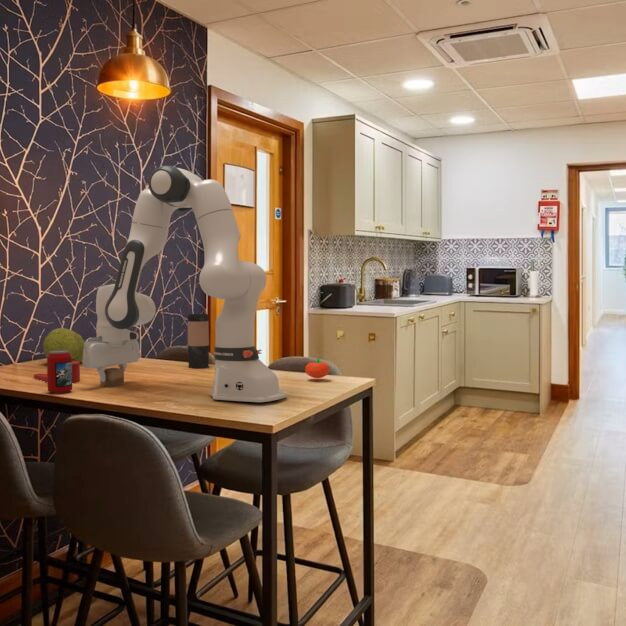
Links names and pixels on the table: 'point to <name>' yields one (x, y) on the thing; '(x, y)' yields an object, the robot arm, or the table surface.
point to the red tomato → (317, 369)
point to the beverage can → (59, 371)
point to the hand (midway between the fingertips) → (112, 379)
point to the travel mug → (198, 341)
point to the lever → (74, 373)
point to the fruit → (65, 343)
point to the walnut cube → (113, 377)
